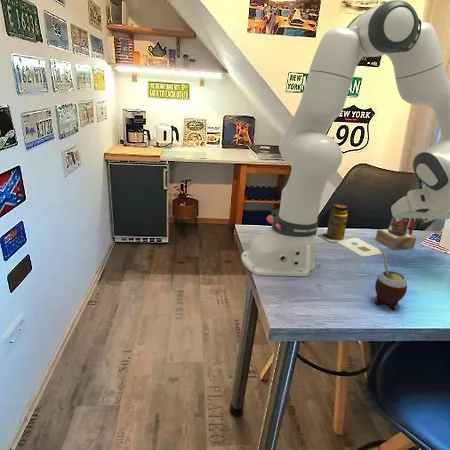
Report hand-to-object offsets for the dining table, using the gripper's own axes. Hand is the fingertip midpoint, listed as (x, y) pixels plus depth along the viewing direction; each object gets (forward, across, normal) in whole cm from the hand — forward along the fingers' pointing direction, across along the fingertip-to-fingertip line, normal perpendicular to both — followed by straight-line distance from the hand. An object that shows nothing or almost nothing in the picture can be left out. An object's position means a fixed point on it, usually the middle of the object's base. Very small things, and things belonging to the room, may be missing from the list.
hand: (411, 219), depth 117 cm
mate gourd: (-14, +24, +30) cm, 41 cm away
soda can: (+18, -8, -2) cm, 20 cm away
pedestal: (+12, 0, +4) cm, 13 cm away
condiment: (+16, +21, +1) cm, 26 cm away
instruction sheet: (+10, +14, +6) cm, 19 cm away
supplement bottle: (+9, 0, +1) cm, 9 cm away
